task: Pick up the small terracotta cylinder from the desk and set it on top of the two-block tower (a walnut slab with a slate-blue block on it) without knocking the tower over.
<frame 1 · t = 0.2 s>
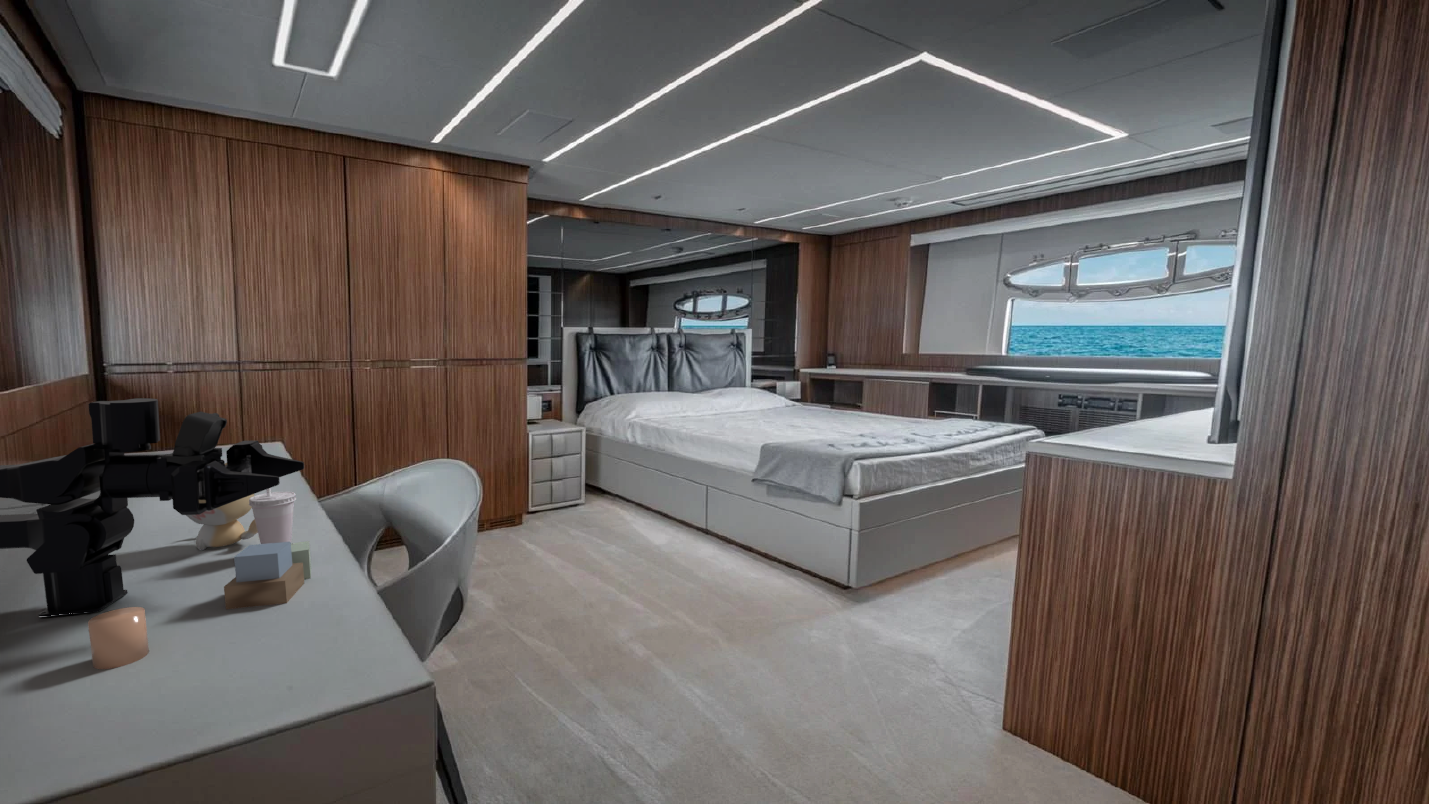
hand: (292, 472, 89), 17 cm above the table, tool horizontal, fingers open, 9 cm apart
kitten: (221, 545, 109), on the table
smoothie: (277, 554, 104), on the table
tower base: (267, 598, 88), on the table, touching tower mid
clay cylinder: (121, 658, 71), on the table
tower mid: (265, 573, 88), point 3 cm above the table, touching tower base
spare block: (293, 576, 95), on the table
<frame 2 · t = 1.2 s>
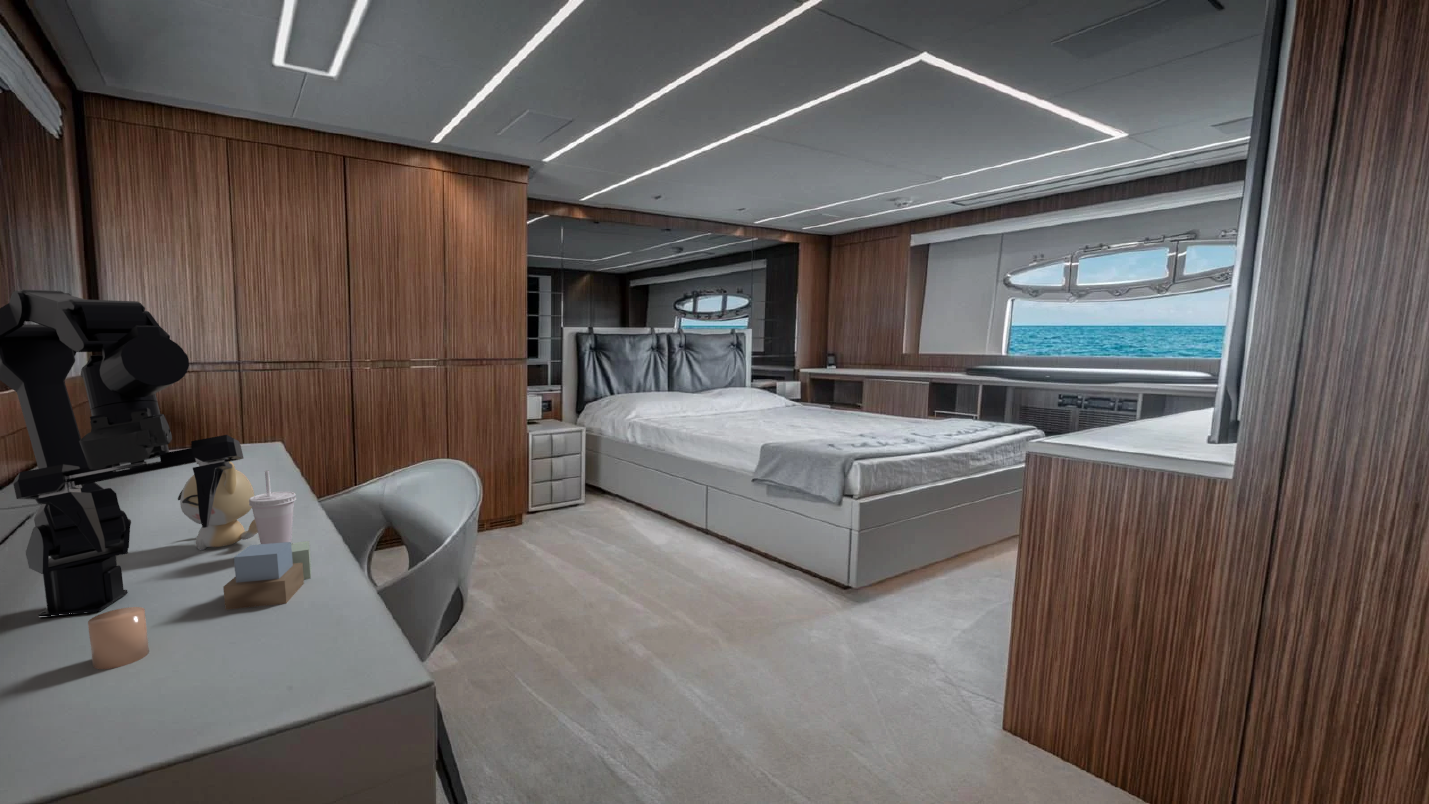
hand: (155, 539, 72), 13 cm above the table, tool tilted 15°, fingers open, 9 cm apart
tower base: (266, 598, 88), on the table
tower mid: (265, 573, 87), point 3 cm above the table
everything else where it was.
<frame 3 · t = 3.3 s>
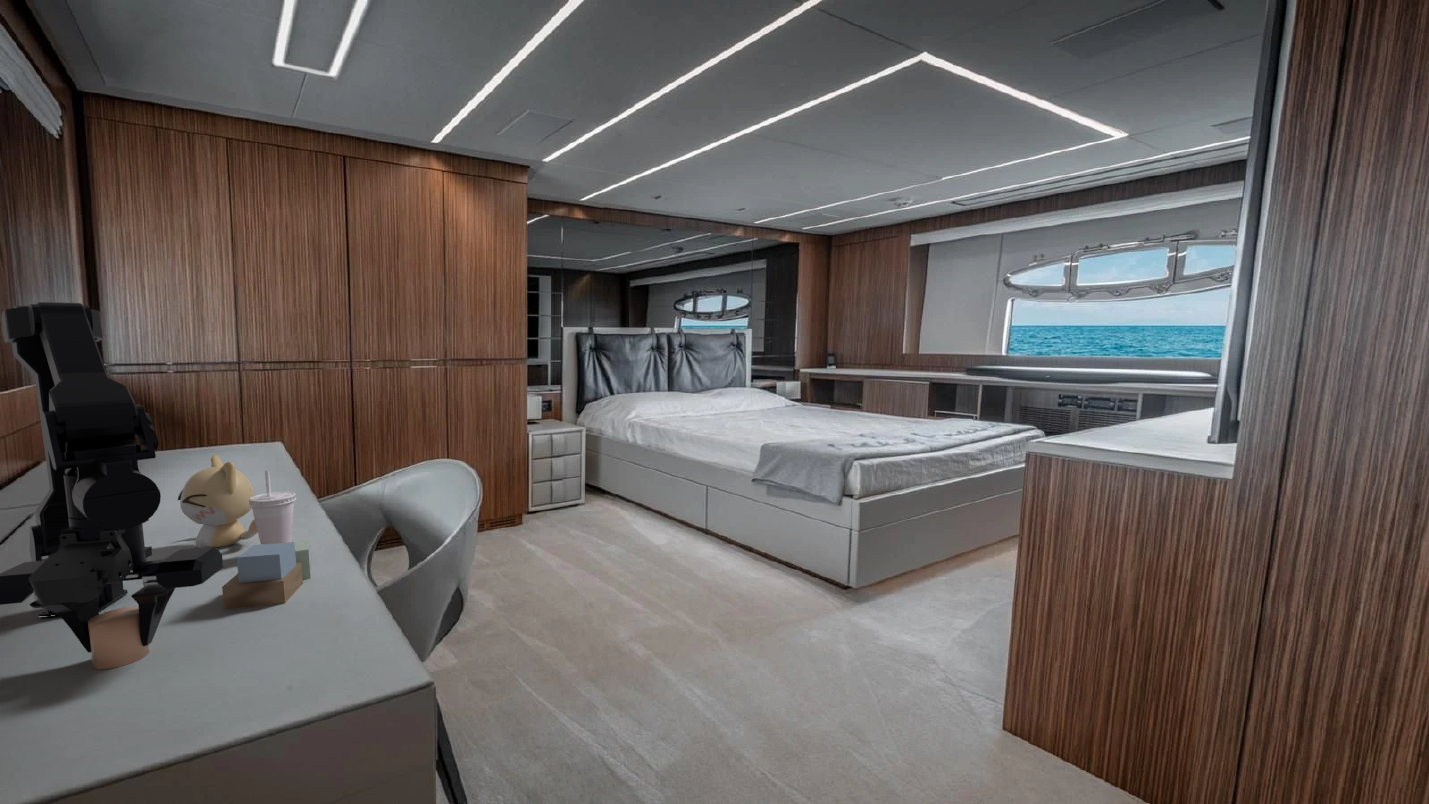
hand: (120, 647, 71), 1 cm above the table, tool pointing down, fingers closed on clay cylinder, 5 cm apart
clay cylinder: (121, 658, 71), on the table, touching gripper
everything else where it was.
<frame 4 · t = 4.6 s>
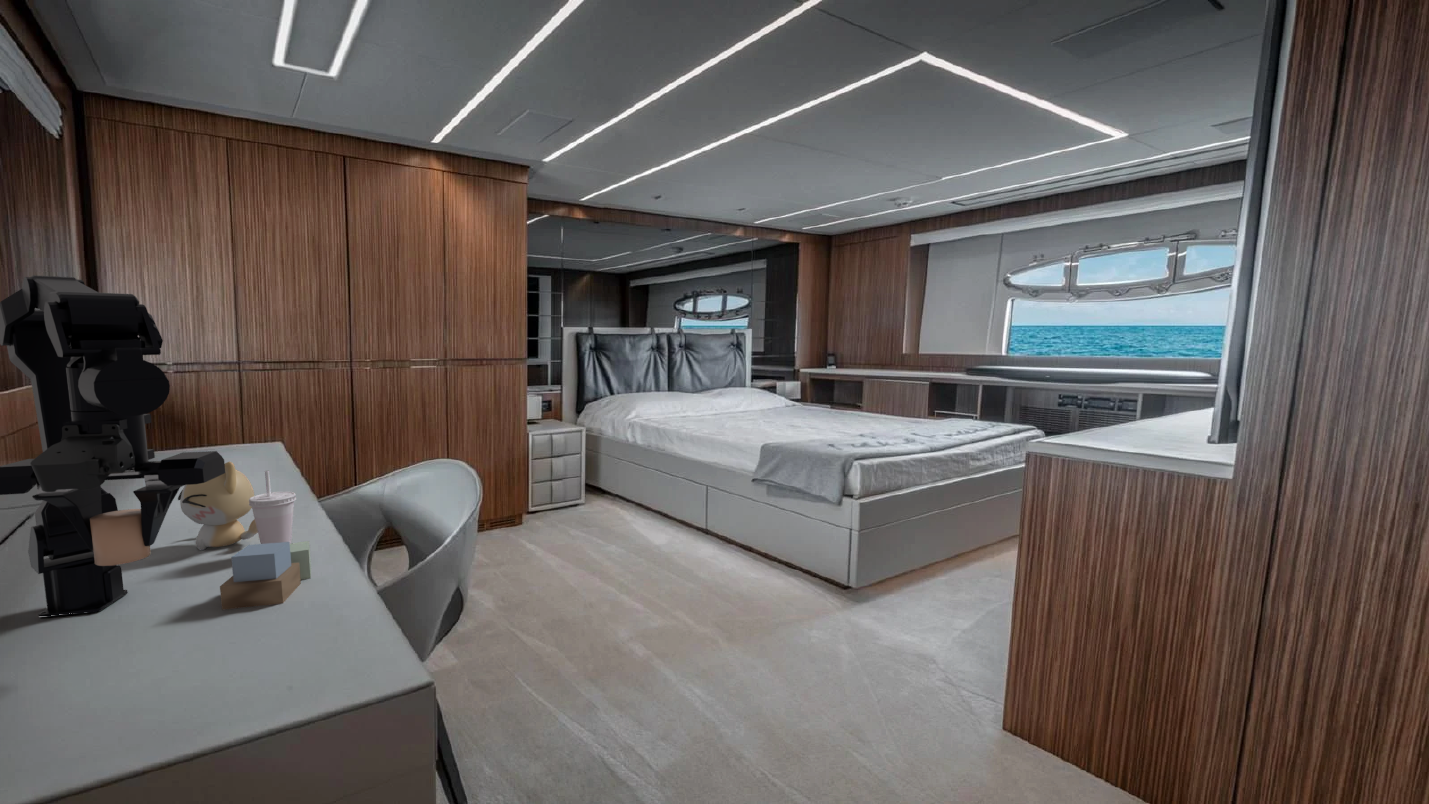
hand: (122, 547, 71), 12 cm above the table, tool pointing down, fingers closed on clay cylinder, 5 cm apart
tower base: (263, 598, 88), on the table, touching tower mid
clay cylinder: (123, 558, 71), point 11 cm above the table, touching gripper
tower mid: (263, 573, 87), point 3 cm above the table, touching tower base
everything else where it was.
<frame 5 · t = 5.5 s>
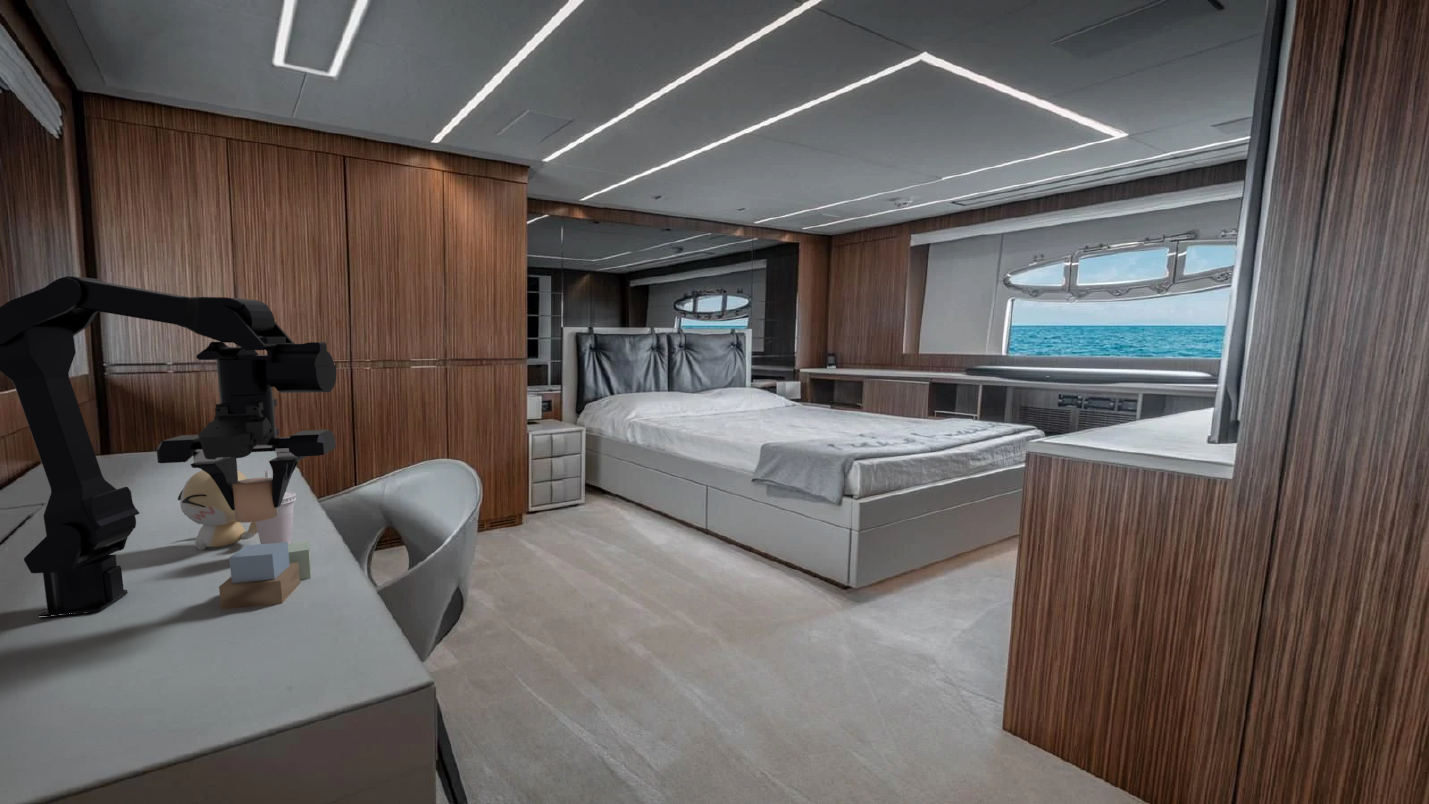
hand: (256, 508, 86), 13 cm above the table, tool pointing down, fingers closed on clay cylinder, 5 cm apart
clay cylinder: (256, 517, 86), point 11 cm above the table, touching gripper
everything else where it was.
when the fingers open (10 cm above the table, at t = 6.5 s): clay cylinder drops 1 cm, point 7 cm above the table.
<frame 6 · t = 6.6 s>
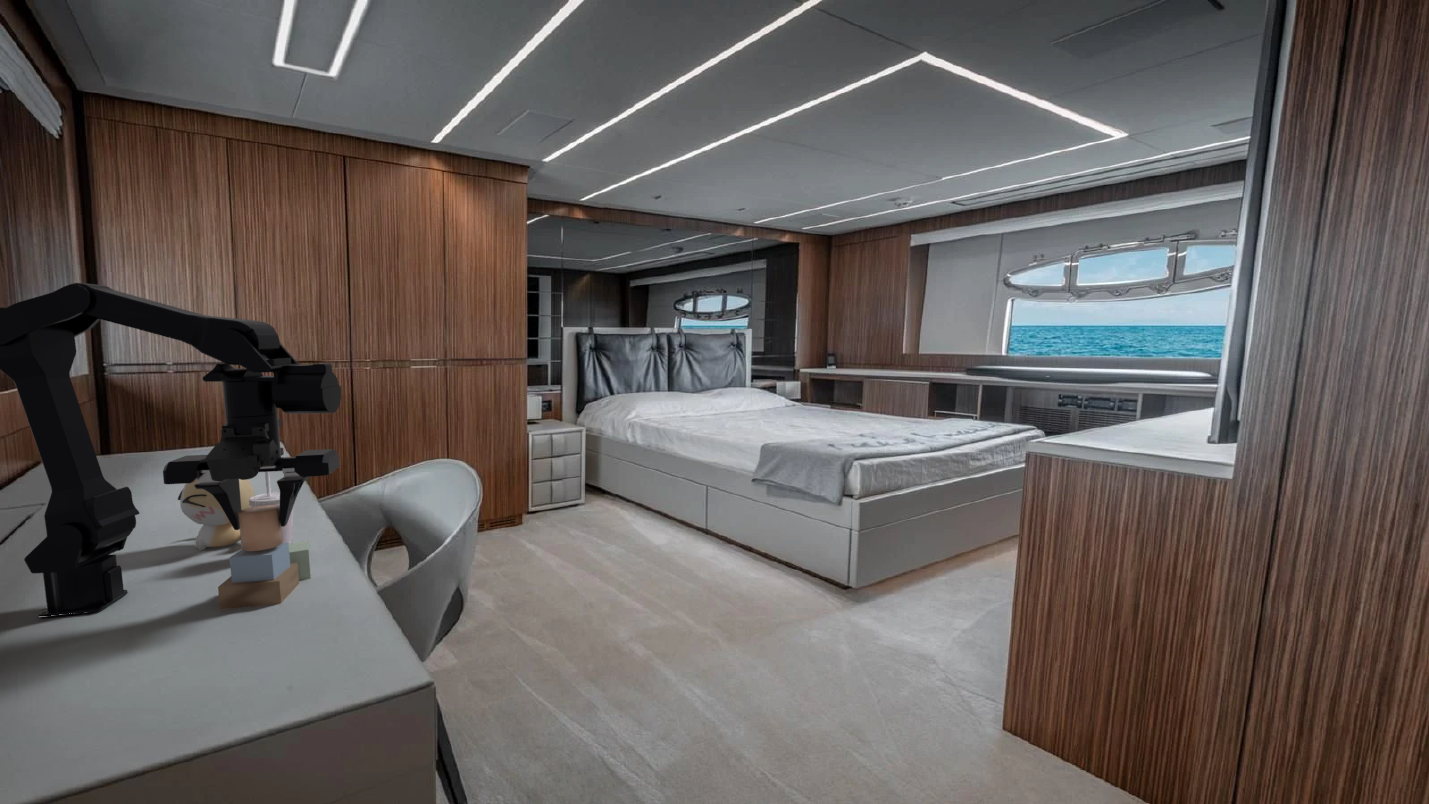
hand: (261, 527, 87), 10 cm above the table, tool pointing down, fingers open, 5 cm apart
clay cylinder: (262, 545, 87), point 7 cm above the table
everything else where it was.
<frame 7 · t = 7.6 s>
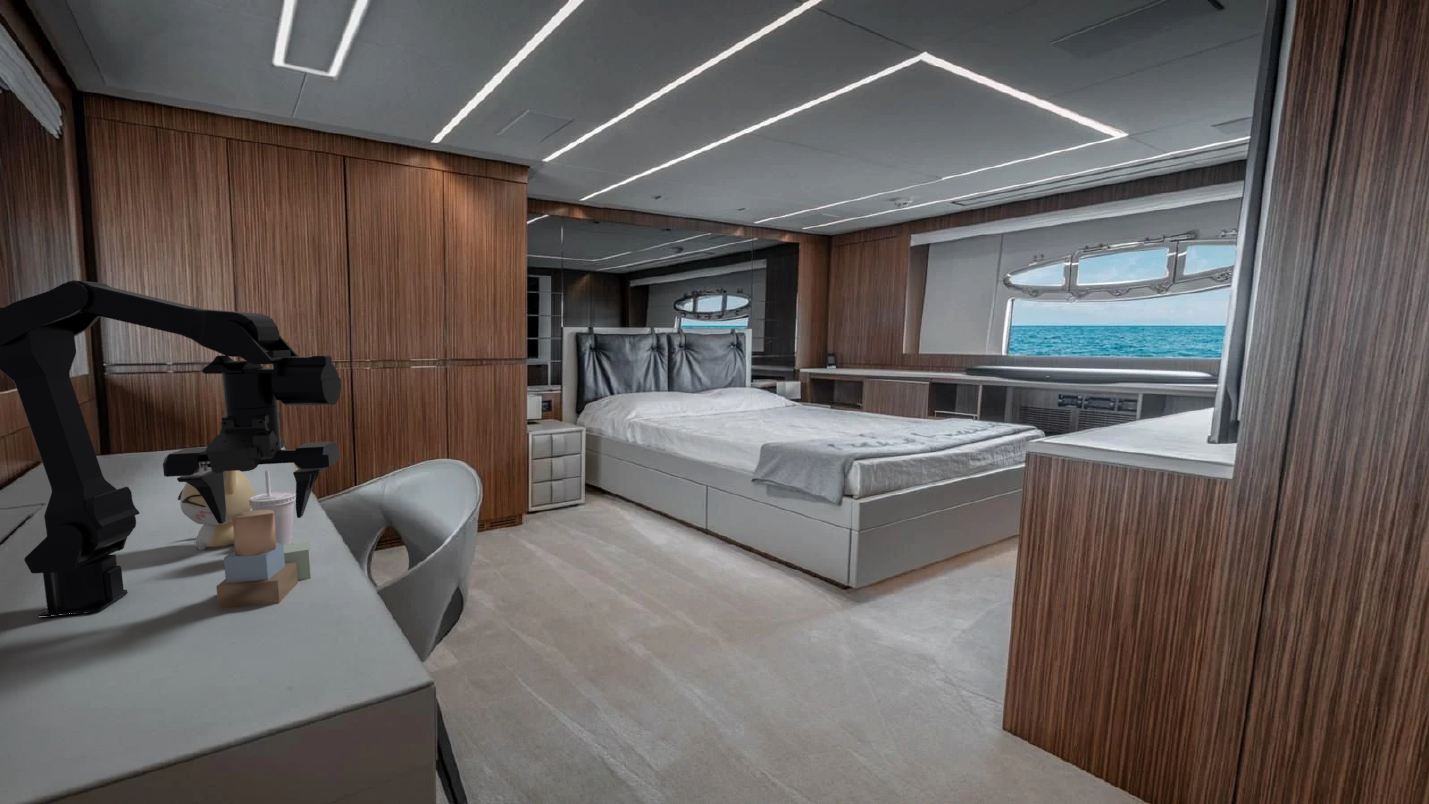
hand: (261, 520, 87), 11 cm above the table, tool pointing down, fingers open, 9 cm apart
nothing on the table moved.
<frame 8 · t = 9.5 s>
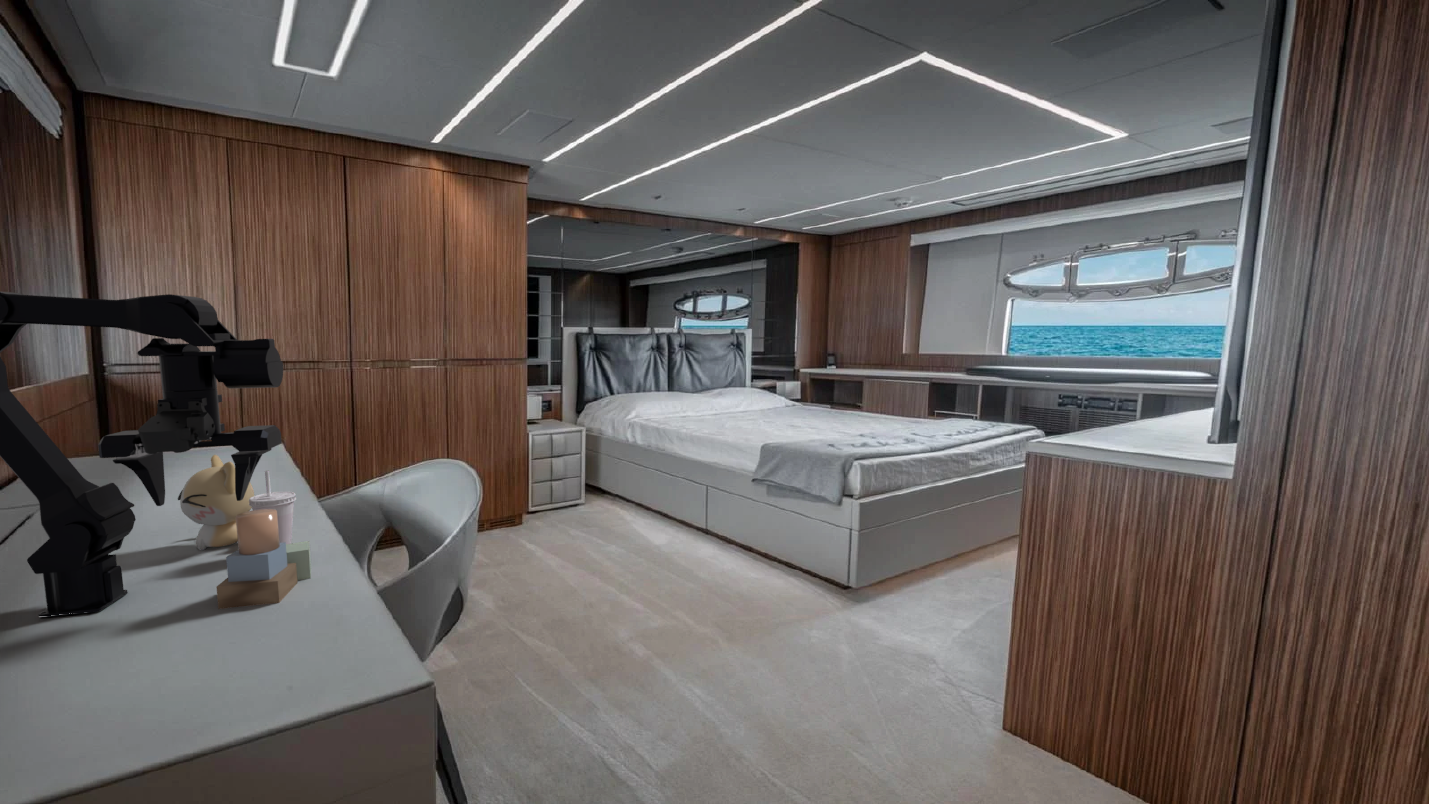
hand: (200, 502, 87), 13 cm above the table, tool pointing down, fingers open, 9 cm apart
clay cylinder: (259, 549, 87), point 7 cm above the table, touching tower mid
tower mid: (258, 573, 88), point 3 cm above the table, touching clay cylinder, tower base
everything else where it was.
at the end: clay cylinder 0.3 cm off-centre on the tower mid, point 3.5 cm above the tower mid's base; tower mid 0.1 cm from the tower base (horizontally); clay cylinder tilted 1° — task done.
